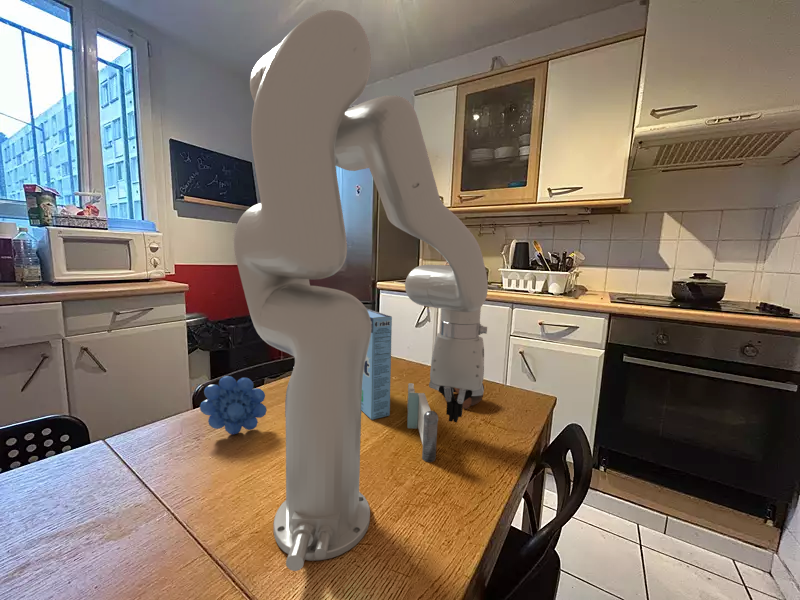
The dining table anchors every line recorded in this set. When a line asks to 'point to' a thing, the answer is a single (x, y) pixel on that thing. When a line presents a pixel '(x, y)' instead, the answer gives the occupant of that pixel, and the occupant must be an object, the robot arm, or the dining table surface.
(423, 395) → the gate
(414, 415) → the block
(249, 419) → the blue flower
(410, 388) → the fence panel
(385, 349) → the gum box
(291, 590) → the dining table surface
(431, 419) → the hinge post
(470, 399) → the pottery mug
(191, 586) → the dining table surface
